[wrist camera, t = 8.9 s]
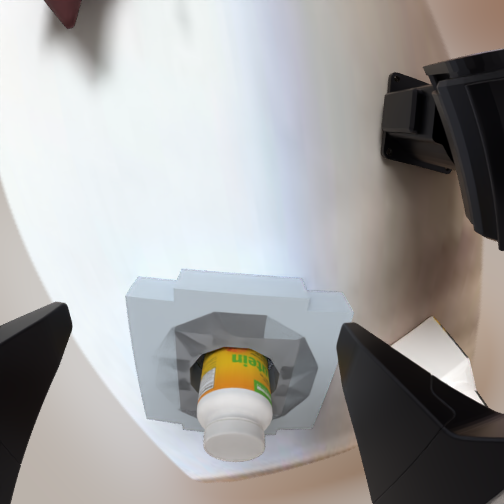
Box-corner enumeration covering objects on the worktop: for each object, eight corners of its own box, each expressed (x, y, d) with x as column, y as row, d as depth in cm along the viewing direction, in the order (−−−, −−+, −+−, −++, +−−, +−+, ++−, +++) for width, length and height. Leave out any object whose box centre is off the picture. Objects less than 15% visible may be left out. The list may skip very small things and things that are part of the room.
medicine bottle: (447, 351, 27) (500, 428, 16) (395, 388, 29) (435, 473, 17) (432, 313, 25) (500, 398, 14) (371, 356, 26) (419, 456, 15)
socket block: (345, 281, 23) (357, 300, 20) (305, 412, 29) (309, 434, 26) (137, 264, 22) (124, 283, 19) (153, 403, 28) (148, 424, 25)
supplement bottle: (279, 348, 25) (293, 441, 16) (245, 384, 27) (247, 472, 18) (224, 320, 24) (217, 416, 15) (194, 361, 26) (179, 452, 17)
